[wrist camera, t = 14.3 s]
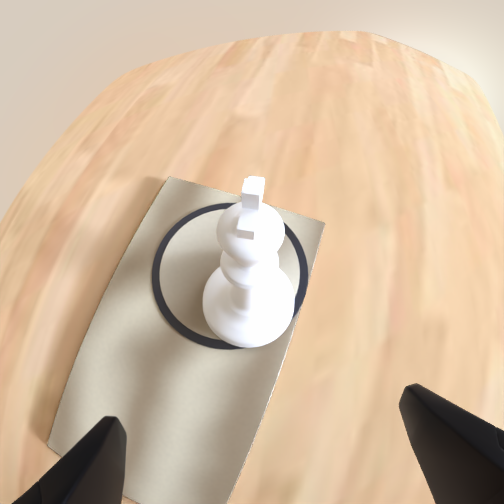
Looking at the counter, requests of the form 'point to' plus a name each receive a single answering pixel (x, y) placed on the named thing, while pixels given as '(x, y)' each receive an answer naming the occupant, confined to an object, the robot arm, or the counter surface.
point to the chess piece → (249, 274)
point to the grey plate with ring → (178, 354)
